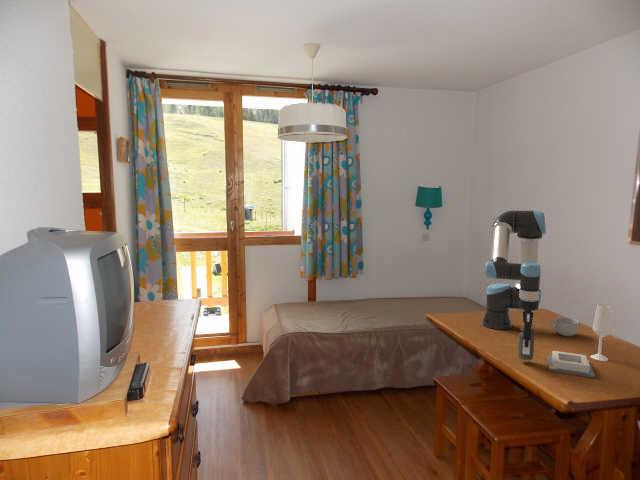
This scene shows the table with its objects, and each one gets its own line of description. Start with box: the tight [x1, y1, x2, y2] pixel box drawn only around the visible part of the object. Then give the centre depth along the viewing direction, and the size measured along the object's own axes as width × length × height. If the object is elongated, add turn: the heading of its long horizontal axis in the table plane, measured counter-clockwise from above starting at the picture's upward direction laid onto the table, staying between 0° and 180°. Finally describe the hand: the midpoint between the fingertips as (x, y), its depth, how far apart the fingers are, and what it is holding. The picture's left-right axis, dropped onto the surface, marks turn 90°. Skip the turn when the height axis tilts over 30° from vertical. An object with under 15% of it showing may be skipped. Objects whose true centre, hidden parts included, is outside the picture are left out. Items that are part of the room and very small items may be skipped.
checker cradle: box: [546, 350, 596, 379], centre depth 179 cm, size 16×16×4 cm
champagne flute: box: [590, 303, 612, 362], centre depth 188 cm, size 7×7×24 cm
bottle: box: [517, 322, 535, 361], centre depth 183 cm, size 6×6×15 cm
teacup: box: [549, 316, 580, 337], centre depth 220 cm, size 14×11×8 cm
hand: (525, 351), depth 183 cm, fingers closed on bottle, 6 cm apart
